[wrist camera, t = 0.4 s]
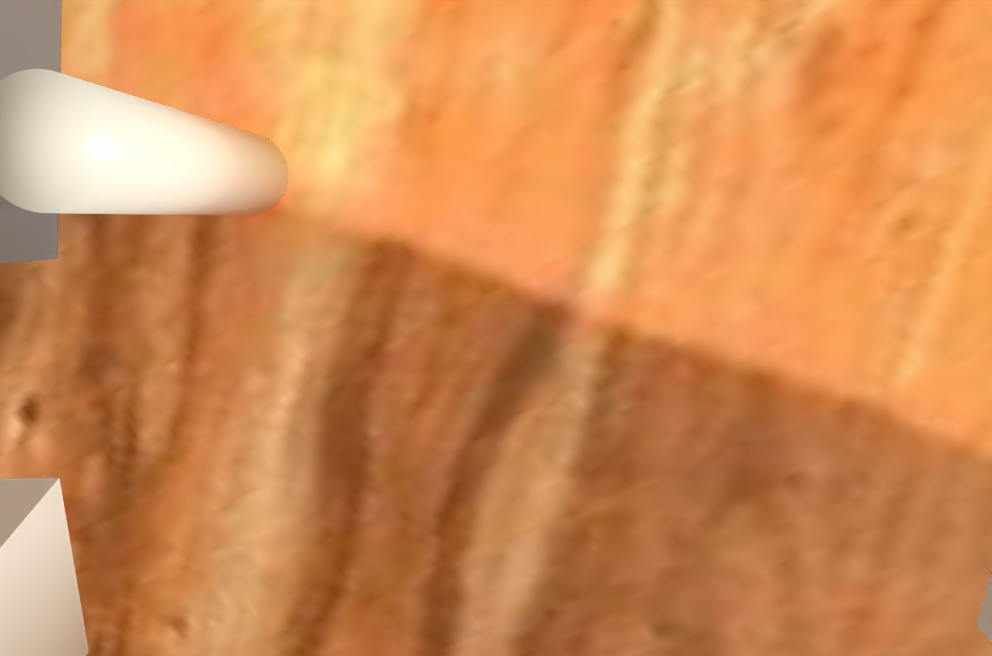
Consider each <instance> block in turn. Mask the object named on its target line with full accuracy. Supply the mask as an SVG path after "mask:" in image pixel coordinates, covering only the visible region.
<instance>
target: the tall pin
mask: <svg viewBox="0 0 992 656" xmlns="http://www.w3.org/2000/svg"><path fill="white" fill-rule="evenodd" d="M287 184H288V167H287V163H286V160H285V158H284V156H283V154H282V152H281V151H280V149H279V148H278V147H277V146H276V145H275V144H274V143H273V142H272V141H270V140H269V139H267V138H266V137H264V136H261V135H259V134H255V133H252V132H249V131H246V130H243V129H239V128H236V127H233V126H230V125H226V124H223V123H220V122H217V121H214V120H210V119H207V118H204V117H201V116H197V115H194V114H191V113H188V112H185V111H181V110H178V109H175V108H172V107H168V106H165V105H162V104H159V103H155V102H152V101H149V100H146V99H143V98H139V97H136V96H133V95H130V94H126V93H123V92H120V91H117V90H114V89H110V88H107V87H104V86H101V85H97V84H94V83H91V82H88V81H85V80H81V79H78V78H75V77H72V76H68V75H65V74H62V73H59V72H55V71H52V70H46V69H29V70H23V71H19V72H16V73H13V74H11V75H9V76H7V77H5V78H3V79H2V80H0V195H1V196H2V197H3V198H5V199H6V200H7V201H9V202H11V203H12V204H14V205H16V206H18V207H20V208H22V209H25V210H29V211H32V212H38V213H75V214H158V215H241V216H252V215H259V214H262V213H265V212H267V211H269V210H271V209H272V208H273V207H275V206H276V205H277V204H278V203H279V201H280V200H281V199H282V197H283V195H284V193H285V191H286V188H287Z"/></svg>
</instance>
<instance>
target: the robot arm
mask: <svg viewBox="0 0 992 656" xmlns="http://www.w3.org/2000/svg"><path fill="white" fill-rule="evenodd" d="M976 627H977V628H978V629H979V630H980V631H981V632H982V633H983V634H984V635H985V636H986V637H987V638H988V640H989V641H990V642H991V643H992V573H991V576H990V580H989V583H988V586H987V590H986V593H985V597H984V600H983V604H982V607H981V611H980V614H979V618H978V621H977V625H976ZM88 651H89V650H88V644H87V638H86V632H85V627H84V621H83V615H82V609H81V603H80V597H79V591H78V585H77V579H76V574H75V568H74V562H73V556H72V550H71V544H70V538H69V532H68V527H67V521H66V515H65V509H64V503H63V497H62V491H61V485H60V479H59V478H0V656H86V655H87V653H88Z"/></svg>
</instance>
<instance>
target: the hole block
mask: <svg viewBox="0 0 992 656" xmlns="http://www.w3.org/2000/svg"><path fill="white" fill-rule="evenodd" d="M60 49H61V0H0V80H2V79H3V78H5V77H7V76H9V75H11V74H13V73H16V72H19V71H23V70H29V69H46V70H52V71H55V72H59V73H60ZM57 250H58V213H38V212H32V211H29V210H25V209H22V208H20V207H18V206H16V205H14V204H12V203H11V202H9V201H7V200H6V199H5V198H3V197H2V196H1V195H0V263H9V262H21V261H33V260H45V259H57Z"/></svg>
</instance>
